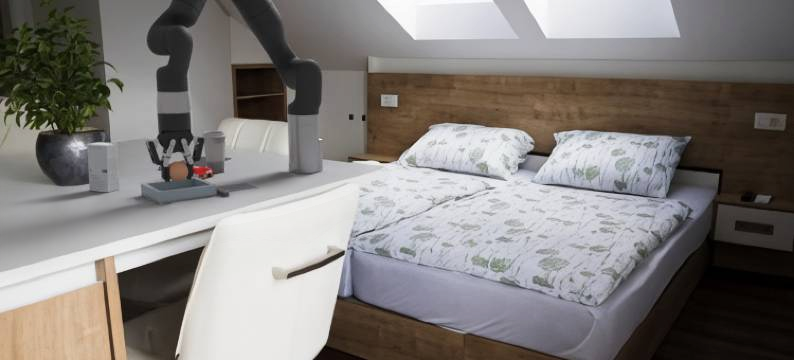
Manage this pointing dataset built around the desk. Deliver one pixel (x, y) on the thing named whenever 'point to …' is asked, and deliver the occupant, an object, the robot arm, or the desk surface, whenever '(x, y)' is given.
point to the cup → (215, 150)
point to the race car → (202, 172)
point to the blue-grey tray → (177, 190)
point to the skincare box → (103, 167)
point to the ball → (178, 171)
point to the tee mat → (237, 187)
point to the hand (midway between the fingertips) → (177, 179)
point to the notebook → (202, 162)
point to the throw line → (222, 192)
